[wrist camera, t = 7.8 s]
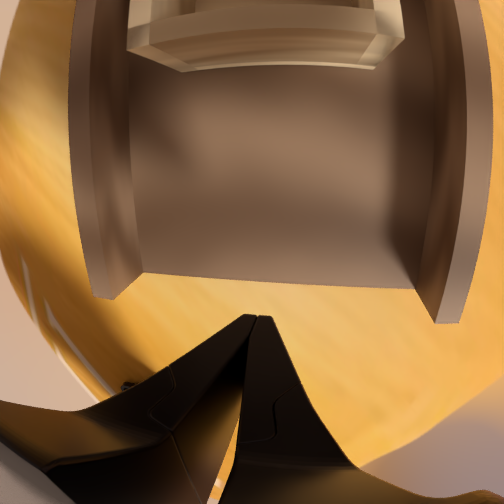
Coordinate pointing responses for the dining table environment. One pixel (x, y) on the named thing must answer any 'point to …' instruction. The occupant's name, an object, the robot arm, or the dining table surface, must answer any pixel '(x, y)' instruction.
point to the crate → (264, 32)
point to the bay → (286, 162)
